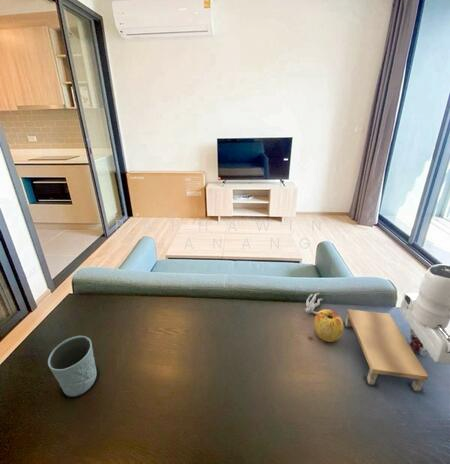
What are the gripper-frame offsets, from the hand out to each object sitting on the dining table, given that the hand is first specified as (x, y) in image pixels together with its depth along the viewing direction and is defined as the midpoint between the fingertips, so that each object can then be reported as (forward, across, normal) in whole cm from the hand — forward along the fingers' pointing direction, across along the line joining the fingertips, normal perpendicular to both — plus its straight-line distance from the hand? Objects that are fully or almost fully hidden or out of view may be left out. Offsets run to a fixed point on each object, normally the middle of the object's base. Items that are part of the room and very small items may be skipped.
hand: (417, 346), depth 79 cm
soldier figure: (+2, +14, +30) cm, 33 cm away
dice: (+2, 0, 0) cm, 2 cm away
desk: (+2, -3, +13) cm, 13 cm away
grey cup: (+2, -25, +102) cm, 105 cm away
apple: (+2, +1, +28) cm, 28 cm away
